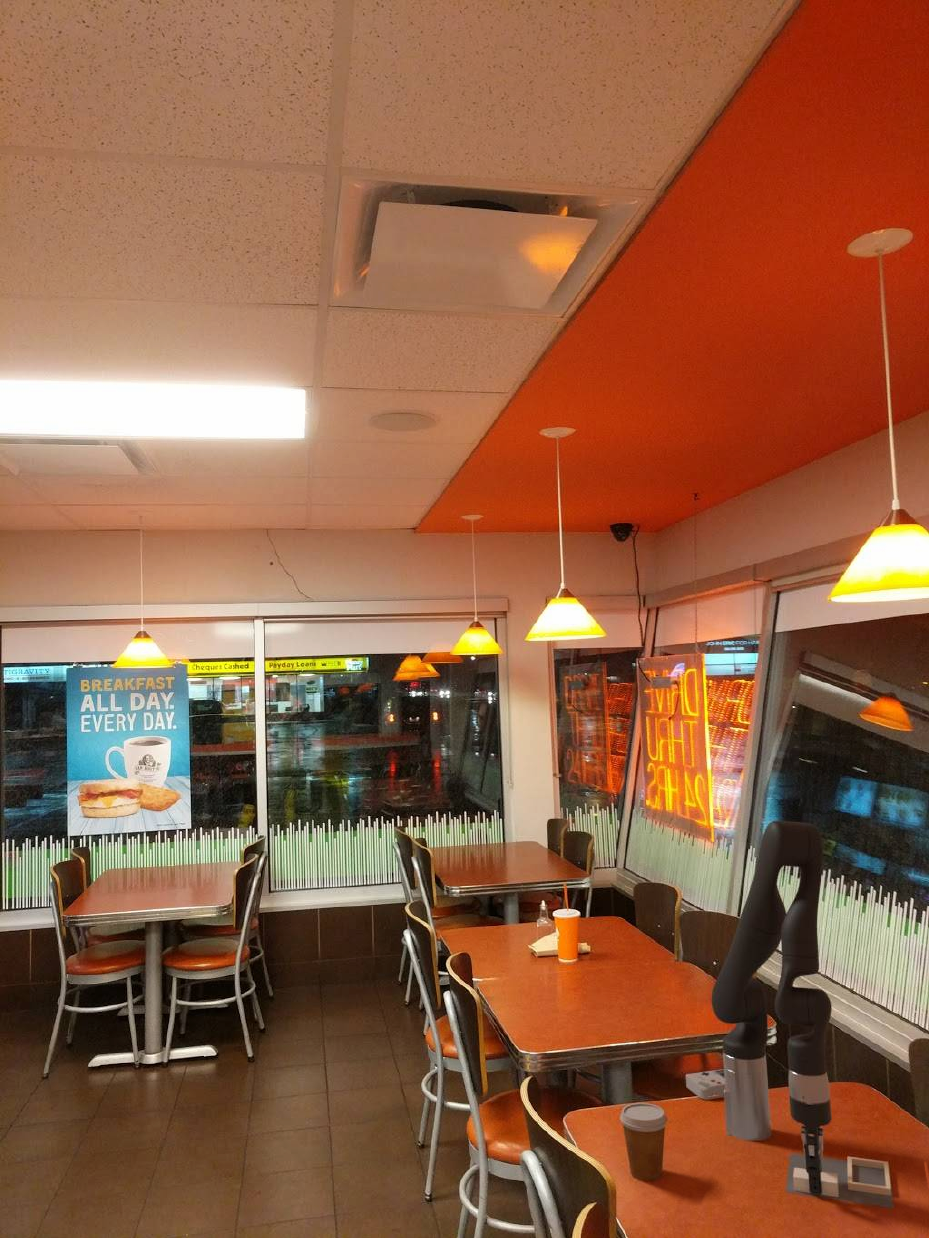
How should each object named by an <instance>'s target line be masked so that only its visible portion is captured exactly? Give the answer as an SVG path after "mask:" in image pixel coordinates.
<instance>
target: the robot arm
mask: <svg viewBox="0 0 929 1238" xmlns="http://www.w3.org/2000/svg"><path fill="white" fill-rule="evenodd" d="M760 841H761V842H760V846H759V849H758V856H757V860H756V865H755V869H754V874H753V878H752V881H751V885H750V887H749V891H748V894H747V897H746V900H745V903H744V905H743V907H742V911H741V913H740V914H741V915H740V917H739V921H738V924H737V927H736V931H735V934H734V936H733V940H732V942H731V945H730V949H729V951H728V954H727V957H726V959H725V961H724V964H723V966H722V967H721V969H720V971H719V974H718V975H717V979H716V981H715V982H714V984H713V988H712V992H711V1007H712V1011H713V1013H714V1015H715V1017H716V1018H717V1020H719V1021H720V1022H722V1023H724V1024H729V1025H730V1024H731V1025H733V1024H734V1025H735V1026H734V1028H733V1029H732V1030H731V1031H729V1032H728V1033H727V1034H726V1035H724V1037H723V1038H722V1041H721V1042H722V1058H723V1069H724V1076H725V1089H724V1097H723V1099H724V1113H725V1116H724V1117H725V1130H726V1131H725V1132H726V1135H728V1136H732V1137H735V1138H736V1139H739V1140H744V1141H752V1142H755V1141H756V1142H757V1141H758V1142H759V1141H764V1140H767V1139H771V1138H772V1130H771V1129H772V1125H771V1111H770V1096H769V1086H768V1085H769V1083H768V1067H767V1056H766V1055H767V1054H766V1052H767V1051H766V1048H767V1047H766V1046H767V1044H768V1038H769V1031H768V1030H769V1029H768V1003H767V996H766V992H765V990H764V988H763V985H762V983H761V982H760V981H759V980H758V979H757V978H755V977H753V976H754V975H755V973H756V972H757V971H758V970H759V969H760V968H761V967H762V966H763V965H764V964H765V963H766V962H767V961H768V960H769V959H770V958H771V957H772V956H773V955H774V953H775V952H776V951H777V949H778V947H779V946H781V970H780V972H781V973H780V979H779V982H778V986H777V991H776V995H775V999H774V1012H775V1014H776V1016H777V1018H778V1020H779V1021H781V1022H782V1023H784V1024H787V1025H794V1026H795V1025H797V1026H805V1027H813V1029H812V1030H811V1031H810V1032H809V1033H804V1034H803V1033H802V1034H797V1035H793V1036H791V1037H789V1038H788V1040H787V1046H786V1047H787V1058H788V1092H789V1106H790V1107H789V1108H790V1116H791V1118H792V1120H793V1121H795V1122H796V1123H799V1124H801V1131H800V1137H801V1141H802V1147H803V1148H802V1149H803V1151H802V1152H803V1155H804V1157H805V1158H806V1171H807V1173H808V1175H809V1189H810V1192H811V1193H814V1194H821V1193H822V1184H821V1172H822V1165H821V1160H822V1159H823V1158H824V1154H823V1151H824V1126H827V1125H829V1124H830V1123H831V1122H832V1119H833V1118H832V1107H831V1103H832V1102H831V1092H830V1090H831V1089H830V1083H829V1082H830V1081H829V1077H828V1071H827V1063H826V1062H827V1059H826V1041H827V1040H826V1039H827V1034H828V1028H829V1026H830V1020H831V1015H832V1008H833V1006H832V1005H833V1004H832V1002H831V999H830V997H829V995H828V994H827V992H825V991H824V990H823V989H819V988H813V987H812V988H811V987H800V986H799V987H798V986H794V982H795V980H796V979H797V978H799V977H803V976H804V977H805V976H812V975H816V974H818V973H819V970H820V958H819V956H820V954H819V939H818V938H819V937H818V914H819V912H818V911H819V902H820V894H821V882H822V873H823V870H822V869H823V858H824V857H823V856H824V850H823V849H824V847H823V844H824V843H823V837H822V835H821V831H820V830H819V829H818V827H817V826H816V825H815V824H812V823H808V822H798V821H788V820H773V821H771V822H769V823H768V825H766V828H765V830H764V831H763V834H762V839H761V840H760ZM783 867H791V868H799V884H798V888H797V891H796V894H795V896H794V898H793V900H792V902H791V904H790V906H789V908H788V910H787V911H786V907H785V904H784V901H783V899H782V896H781V894H780V891H779V889H778V881H779V880H778V879H779V875H780V872H781V869H782V868H783ZM780 943H781V945H780Z"/></svg>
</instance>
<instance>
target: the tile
mask: <svg viewBox="0 0 929 1238" xmlns="http://www.w3.org/2000/svg"><path fill="white" fill-rule="evenodd" d="M793 1182H794V1191H800V1192H807V1193H811V1192H810V1189H809V1175H808V1173H807V1171H806V1169H801V1168H794V1173H793ZM821 1184H822V1193H821V1194H820V1195H826V1196H833V1197H839V1184H838V1174H836V1173H829V1172H821ZM813 1194H814V1193H813Z"/></svg>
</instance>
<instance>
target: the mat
mask: <svg viewBox="0 0 929 1238" xmlns="http://www.w3.org/2000/svg"><path fill="white" fill-rule="evenodd" d="M846 1157H847V1160H843V1159H835V1158H829V1157H823V1159H822V1160H821V1165H822V1172H829V1173H836V1174H838V1184H839V1197H833V1196H826V1195H820V1194H813V1193H807V1192H800V1191H794V1182H793V1173H794V1168H801V1169H806V1158H805V1157H804V1154H800V1153H799V1154H798V1153H792V1152H790V1153H789V1160H788V1161H789V1162H788V1169H787V1177H786V1186H785V1187H786V1188H785V1193H788V1194H789V1193H790V1194H796V1195H801V1196H808V1197H809V1196H810V1197H815V1198H822V1199H829V1200H834V1201H840V1202H841V1201H842V1202H847V1203H854V1204H861V1205H866V1206H867V1205H868V1206H875V1207H881V1208H887V1209H893V1210H894V1209H895V1205H894V1197H893V1196H894V1195H893V1187H892V1179H891V1169H890V1167H891V1166H889V1161H883V1160H877V1159H868V1158H863V1157H861V1158H860V1157H856V1156H848V1155H847V1156H846Z"/></svg>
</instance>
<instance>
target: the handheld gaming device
mask: <svg viewBox="0 0 929 1238" xmlns="http://www.w3.org/2000/svg"><path fill="white" fill-rule="evenodd" d="M685 1085H686V1087H685V1088H687V1089H688V1090H690V1091H691V1092H692V1093H693V1094H695V1095H696V1096H697V1097H699V1098H700V1099H702V1100H706V1101H707V1100H709V1101H710V1100H715V1099H721V1098H722V1099H724V1089H725V1076H724V1068H723V1069H716V1070H708V1071H702V1072H701V1071H700V1072H694V1073H687V1074H685ZM713 1095H719V1096H714V1097H708V1096H713Z"/></svg>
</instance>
